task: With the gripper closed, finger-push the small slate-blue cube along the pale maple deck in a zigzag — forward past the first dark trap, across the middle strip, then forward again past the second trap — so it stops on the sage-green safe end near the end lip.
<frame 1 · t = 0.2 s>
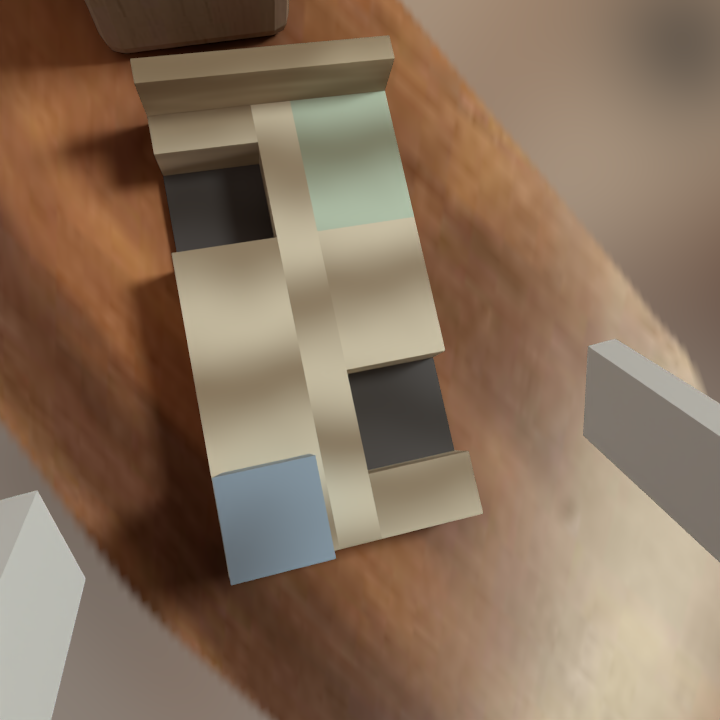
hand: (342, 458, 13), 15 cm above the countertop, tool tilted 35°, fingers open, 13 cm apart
cube: (274, 507, 25), point 2 cm above the countertop, touching deck
deck: (310, 323, 29), on the countertop
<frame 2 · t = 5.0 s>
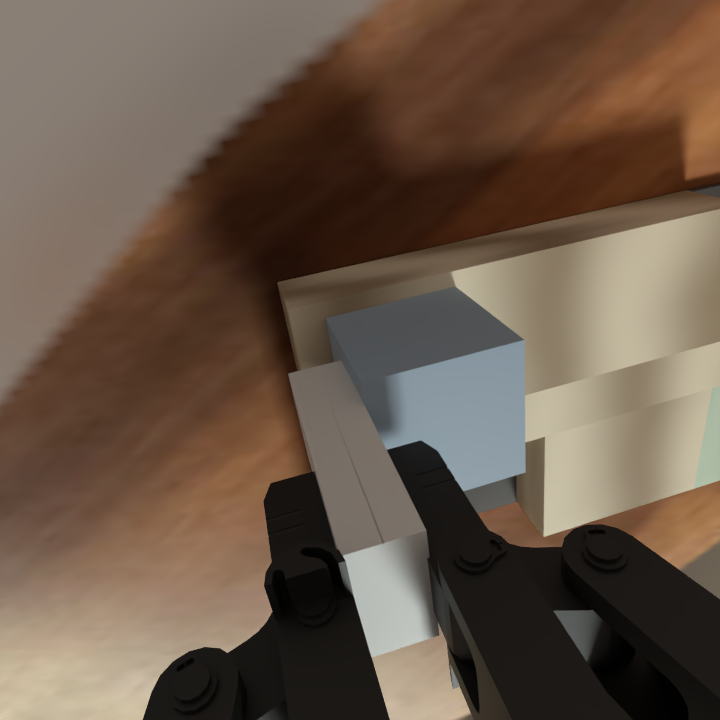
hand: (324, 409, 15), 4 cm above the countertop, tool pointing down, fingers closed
cube: (399, 361, 17), point 3 cm above the countertop, touching gripper
deck: (579, 362, 22), on the countertop
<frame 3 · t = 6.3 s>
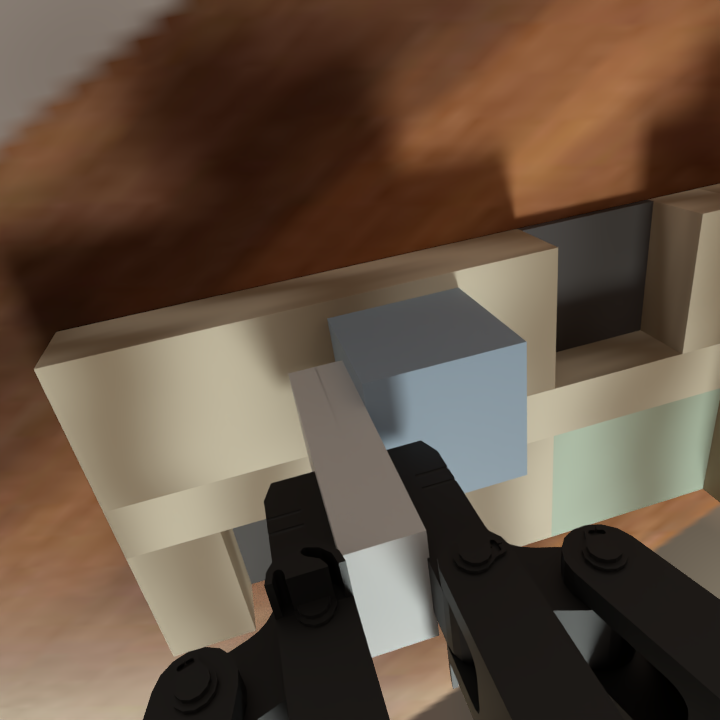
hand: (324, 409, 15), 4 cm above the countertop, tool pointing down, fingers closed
cube: (401, 362, 17), point 2 cm above the countertop, touching deck
deck: (422, 406, 21), on the countertop
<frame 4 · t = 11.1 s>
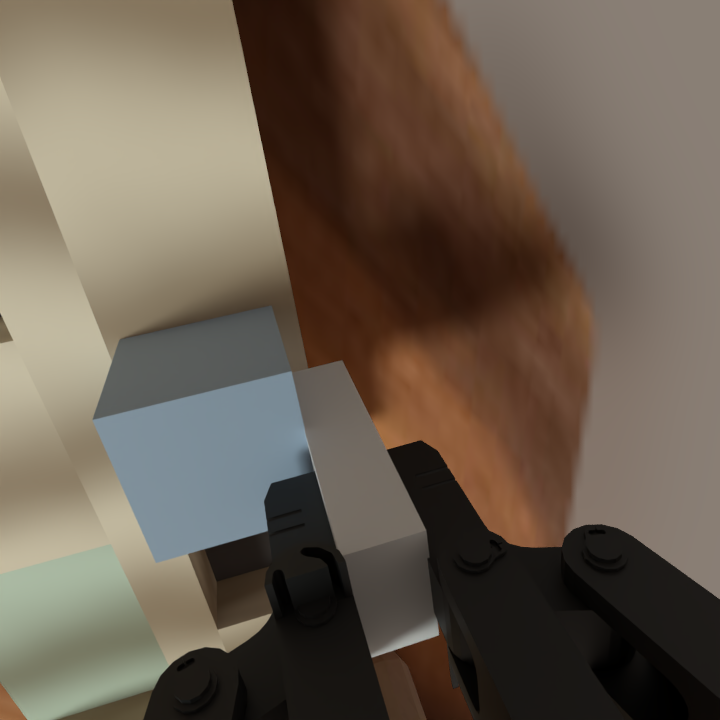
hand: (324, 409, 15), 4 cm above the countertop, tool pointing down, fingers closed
cube: (216, 386, 16), point 3 cm above the countertop, touching deck, gripper
deck: (111, 386, 18), on the countertop
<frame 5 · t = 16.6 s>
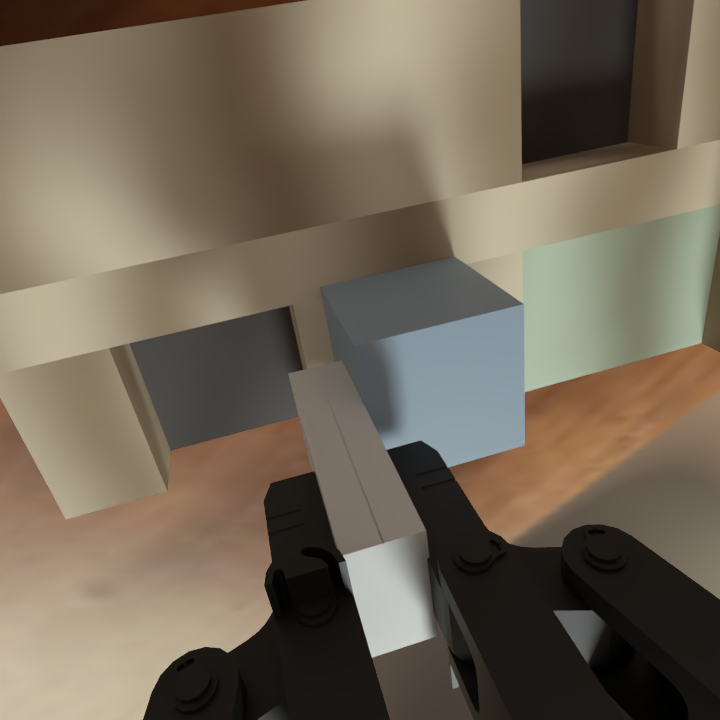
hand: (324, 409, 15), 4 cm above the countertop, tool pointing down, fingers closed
cube: (396, 334, 17), point 3 cm above the countertop, touching gripper
deck: (367, 227, 18), on the countertop
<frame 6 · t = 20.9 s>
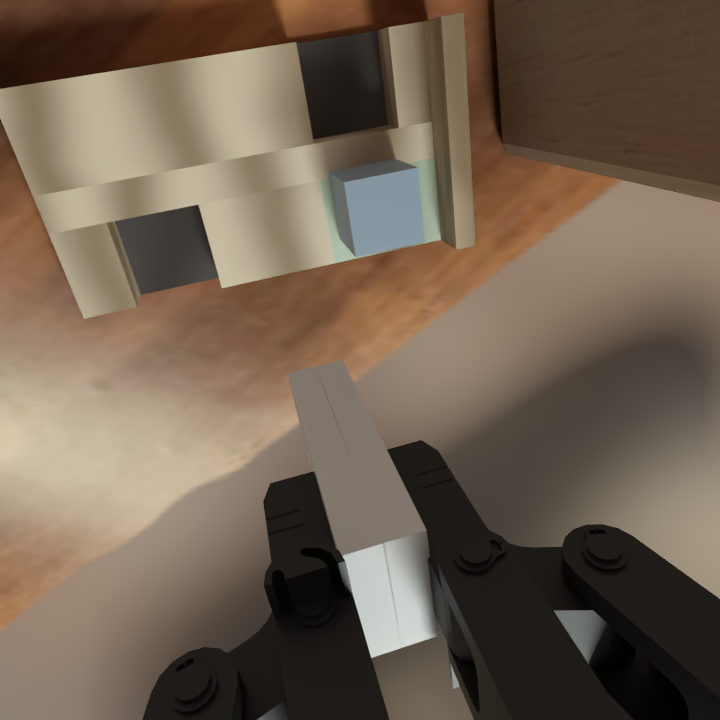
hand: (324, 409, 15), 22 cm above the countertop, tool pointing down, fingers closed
cube: (367, 199, 33), point 2 cm above the countertop, touching deck
block: (563, 56, 35), on the countertop
deck: (244, 169, 33), on the countertop
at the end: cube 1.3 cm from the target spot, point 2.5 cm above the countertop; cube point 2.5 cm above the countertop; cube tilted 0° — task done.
